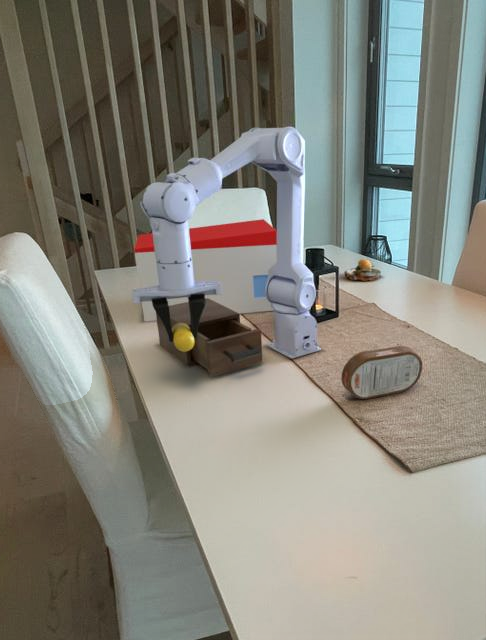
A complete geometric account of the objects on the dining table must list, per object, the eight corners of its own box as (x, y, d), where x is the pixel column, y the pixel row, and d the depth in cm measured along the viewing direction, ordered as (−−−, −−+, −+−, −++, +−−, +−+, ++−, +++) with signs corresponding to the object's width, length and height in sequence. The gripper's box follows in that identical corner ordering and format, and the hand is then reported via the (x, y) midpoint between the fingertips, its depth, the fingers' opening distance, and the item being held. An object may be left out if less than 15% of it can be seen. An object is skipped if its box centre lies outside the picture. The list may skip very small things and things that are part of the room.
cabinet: (242, 351, 110) (239, 313, 107) (187, 366, 103) (183, 326, 100) (211, 333, 121) (207, 297, 117) (160, 345, 114) (155, 308, 110)
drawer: (274, 369, 99) (273, 336, 96) (222, 385, 93) (219, 350, 90) (229, 342, 112) (227, 313, 110) (181, 355, 106) (177, 324, 103)
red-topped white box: (280, 310, 136) (278, 230, 128) (144, 321, 129) (132, 238, 121) (267, 289, 155) (264, 219, 147) (147, 298, 147) (137, 225, 139)
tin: (413, 383, 95) (417, 340, 91) (423, 390, 92) (427, 347, 89) (340, 397, 90) (340, 353, 87) (347, 405, 87) (348, 360, 84)
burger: (377, 272, 173) (378, 250, 170) (384, 281, 163) (385, 257, 160) (341, 273, 173) (342, 251, 170) (346, 282, 162) (347, 258, 159)
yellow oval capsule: (196, 353, 86) (195, 334, 85) (176, 355, 85) (174, 336, 84) (189, 335, 94) (188, 317, 92) (170, 337, 93) (168, 320, 91)
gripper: (214, 252, 89) (220, 325, 94) (126, 259, 84) (138, 335, 90) (221, 260, 83) (227, 338, 88) (128, 268, 78) (140, 350, 84)
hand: (183, 338), depth 89 cm, fingers closed on yellow oval capsule, 3 cm apart
